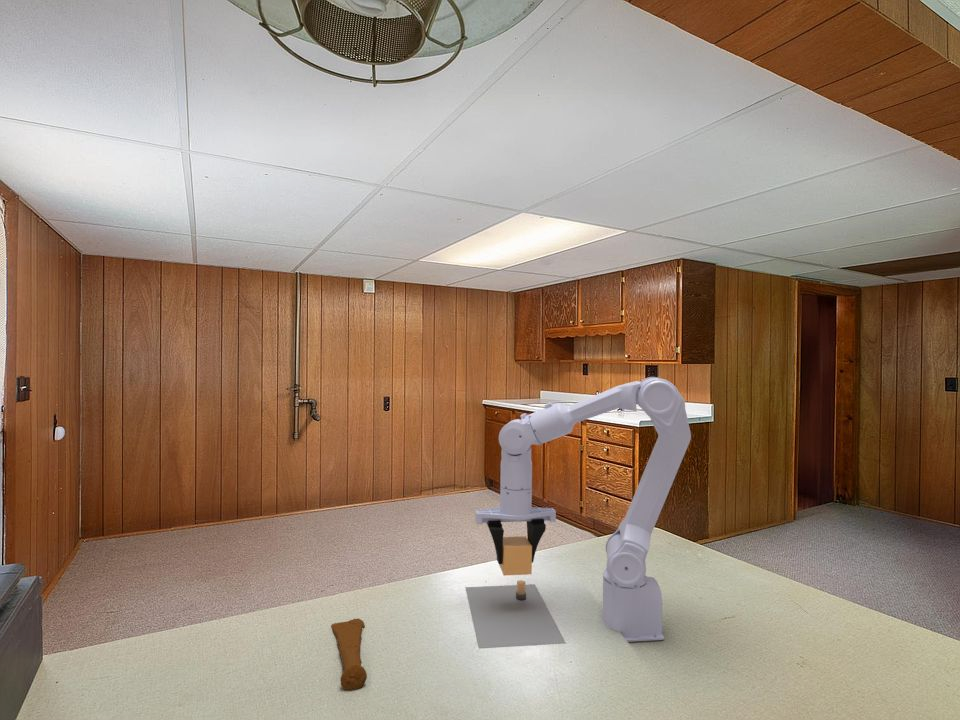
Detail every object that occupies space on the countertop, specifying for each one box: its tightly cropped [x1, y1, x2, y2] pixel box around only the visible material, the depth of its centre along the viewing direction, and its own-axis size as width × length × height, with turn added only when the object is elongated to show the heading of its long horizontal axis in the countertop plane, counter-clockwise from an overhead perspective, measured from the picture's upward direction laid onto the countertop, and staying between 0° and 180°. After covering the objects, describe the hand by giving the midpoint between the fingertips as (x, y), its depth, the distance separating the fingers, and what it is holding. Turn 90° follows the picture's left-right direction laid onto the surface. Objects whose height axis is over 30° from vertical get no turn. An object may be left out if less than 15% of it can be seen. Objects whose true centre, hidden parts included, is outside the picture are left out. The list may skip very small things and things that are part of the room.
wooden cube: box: [498, 535, 533, 576], centre depth 92 cm, size 5×5×5 cm
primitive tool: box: [330, 618, 368, 691], centre depth 80 cm, size 19×6×4 cm, turn 20°
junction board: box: [465, 579, 567, 649], centre depth 90 cm, size 14×21×4 cm, turn 7°
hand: (515, 561), depth 92 cm, fingers closed on wooden cube, 5 cm apart
